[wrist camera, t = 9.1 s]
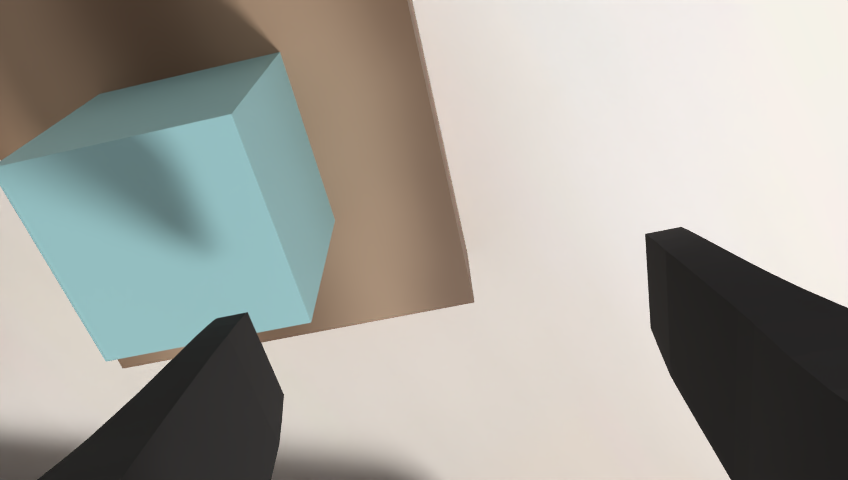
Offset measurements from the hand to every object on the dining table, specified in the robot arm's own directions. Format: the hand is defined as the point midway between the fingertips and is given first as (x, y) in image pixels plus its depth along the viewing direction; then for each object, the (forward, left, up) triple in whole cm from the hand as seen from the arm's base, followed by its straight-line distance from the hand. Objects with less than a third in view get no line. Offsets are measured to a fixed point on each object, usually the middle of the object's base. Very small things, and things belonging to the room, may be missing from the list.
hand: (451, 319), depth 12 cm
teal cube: (+6, -1, -7) cm, 10 cm away
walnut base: (+6, -1, -10) cm, 12 cm away
